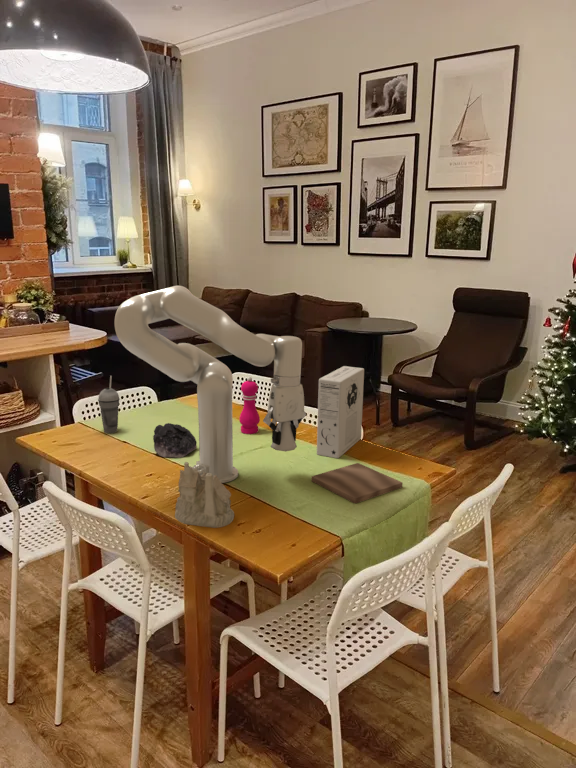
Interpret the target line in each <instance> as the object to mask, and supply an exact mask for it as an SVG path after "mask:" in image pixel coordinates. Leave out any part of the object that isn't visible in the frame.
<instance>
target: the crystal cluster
mask: <svg viewBox="0 0 576 768" xmlns="http://www.w3.org/2000/svg"><path fill="white" fill-rule="evenodd" d="M153 433H154V434H153V435H152V438H153V439H152V441H153V448H154V451H155V453H157V455H158V456H160V457H163V458H175V459H176V458H179V459H181V458H185V457H186V456H187V455H188V454H190V453H192V452H193V451H194V450H196V449H197V440H196V437H195V436H194V434H192V432H191V431H190V430H189V429H188V428H186V427H185V426H182V425H181V424H174V423H170V422H167V423H165V424H164V425H161V424H158V425H157V426H155V428H154V430H153Z"/></svg>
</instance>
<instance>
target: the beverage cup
mask: <svg viewBox="0 0 576 768" xmlns="http://www.w3.org/2000/svg"><path fill="white" fill-rule="evenodd" d="M109 376H110V377H109V387H106V388H103V389H102V390H100V392H99V394H98V398H97V401H98V405H99V408H100V414H101V421H102V427H103V431H104V433H105V434H114V433H116V432H118V425H119V405H120V395H119V393H118V391H117V390H116V389H114V388H112V380H113V379H112V377H113V376H112V375H109Z"/></svg>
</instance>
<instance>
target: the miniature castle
mask: <svg viewBox="0 0 576 768" xmlns="http://www.w3.org/2000/svg"><path fill="white" fill-rule="evenodd" d="M183 466H184V468H183V470H182V469H180V470H179V480H178V493H179V497H177V498H176V503H175V513H174V517H175V519H176V520H177V521H178V522H180V523H182V524H184V525H190V526H191V525H192V526H196V527H197V526H198V527H206V528H212V529H216V528H217V529H218V528H223V527H226V526H228V525H230V524H231V523H232V522H233V521H234V518H235V512H234V510H233V509H232V508H231V504H232V500H231V497H232V493H231V492H230V490H229V489H227V488H226V486H225V485H224V483H221V481H220V480H219V478H218V477H217V475H214V477H213V475H212V474H211V473H205V472H204V473H203V474H202V475H201V476H200V474H199V472H198V470H197V469H194V470H193V469H192V467H193V466H190V463H189V462H187V461H185V462H184V465H183Z"/></svg>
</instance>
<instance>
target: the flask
mask: <svg viewBox="0 0 576 768" xmlns="http://www.w3.org/2000/svg"><path fill="white" fill-rule="evenodd" d="M279 431H280V432H281V443H280V445H277V444H275V443H273V442H271V445H270V448H272V449H273V450H276V451H280V452H291V451H294V450H295V449H296V448H297V443H296V441H295V440H294V437H293V434H292V430H291V427H290V421H287V422H281V426H280V430H279Z"/></svg>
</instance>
